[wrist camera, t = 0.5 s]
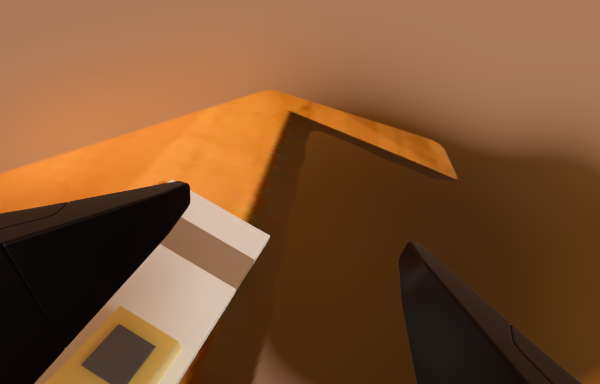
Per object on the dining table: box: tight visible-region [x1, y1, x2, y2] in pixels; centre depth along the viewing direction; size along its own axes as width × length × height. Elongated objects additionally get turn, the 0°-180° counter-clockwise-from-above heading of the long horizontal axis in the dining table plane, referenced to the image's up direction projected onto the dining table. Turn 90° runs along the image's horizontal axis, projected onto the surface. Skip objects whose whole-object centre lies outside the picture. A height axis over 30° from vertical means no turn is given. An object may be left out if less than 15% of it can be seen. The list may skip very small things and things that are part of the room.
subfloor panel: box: [34, 180, 270, 384], centre depth 15 cm, size 24×12×1 cm, turn 156°
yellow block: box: [44, 306, 182, 384], centre depth 12 cm, size 5×4×4 cm
